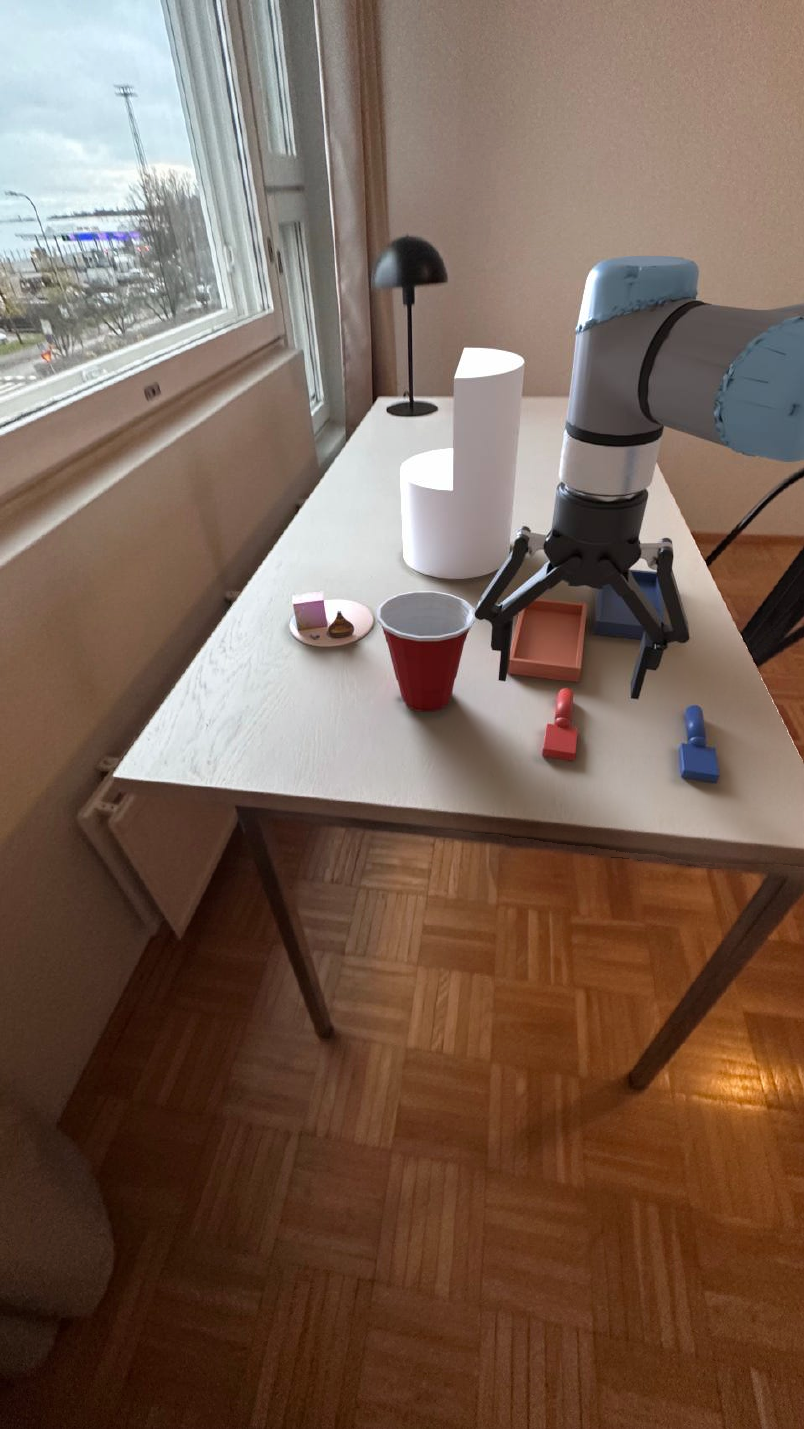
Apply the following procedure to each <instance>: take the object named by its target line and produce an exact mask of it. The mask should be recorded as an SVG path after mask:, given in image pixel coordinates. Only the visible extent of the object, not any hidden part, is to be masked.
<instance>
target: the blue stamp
mask: <svg viewBox="0 0 804 1429" xmlns="http://www.w3.org/2000/svg"><path fill="white" fill-rule="evenodd" d="M684 717H685V727H686V736H687V743H686V742H681V743H680V745H679V747H678V757H679V758H678V760H679V768H680V778H681V779H687V780H694V781H699V782H700V781H701V782H707V783H714V784H716V783H718V780H719V778H720V770H719V764H718V763H719V762H718V757H717V750H716V747H714V746H707V744H708V742H707V741H708V740H707V735H706V734H707V733H706V725H705V718H704V711H703V708H702V707H700V706H699V705H697V704H690V705H688V706H687V707H686V709H685V711H684Z"/></svg>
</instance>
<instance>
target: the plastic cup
mask: <svg viewBox="0 0 804 1429" xmlns="http://www.w3.org/2000/svg"><path fill="white" fill-rule="evenodd" d="M475 611H476V609H475V607H473V606H472V605H471V604H470V603H469V602H468V601H467V600H466V599H463V598H461V597H458V596H456V595H453V594H452V593H446V592H441V591H434V590H414V591H408V592H403V593H398V594H395V595H393V596H391V597H389V598H387V599H385V600H384V601H383V602H382V603H381V604H380V605H379V606H378V607H377V608H376V620H377V622H378V624H379V625H380V626H381V628H382V632H383V634H384V637H385V642H386V643H387V647H388V651H389V656H390V660H391V663H392V667H393V671H394V675H395V679H396V681H397V683H398V688H399V691H400V695H401V698H402V700H403V702H404V703H405V705H406V706H407V707H408V708H410V709H412V710H414V711H418V712H423V713H425V712H427V713H428V712H434V711H438V710H441V709H442V708H444V707H445V706H446V705H448V703H449V701H450V700H451V697H452V695H453V690H454V686H455V682H456V678H457V676H458V673H459V667H460V663H461V658H462V655H463V651H464V645H465V642H466V641H467V637H468V634H469V632H470V630H471V628H472V626H473V625H474V623H475V622H476V619H477V618H476V617H475Z"/></svg>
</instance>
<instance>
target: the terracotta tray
mask: <svg viewBox="0 0 804 1429" xmlns="http://www.w3.org/2000/svg"><path fill="white" fill-rule="evenodd" d="M587 610H588V603H584V602H583V603H582V602H573V601H564V600H553V599H545V598H537V599H535V600H534V601H533V602H532V603H530V604H529V605H528V606H527V607H525V608H524V609H523V610H522V611H521V612H519V613H518V617H517V621H516V626H515V631H514V633H513V638H512V641H511V650H510V660H509V668H508V672H507V674H510V675H518V676H523V677H524V676H525V677H533V678H541V679H549V680H555V681H556V680H557V681H564V682H572V683H579V682H580V677H581V671H582V664H583V653H584V642H585V630H586V622H587V621H586V620H587Z"/></svg>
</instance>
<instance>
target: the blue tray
mask: <svg viewBox="0 0 804 1429" xmlns="http://www.w3.org/2000/svg"><path fill="white" fill-rule="evenodd" d="M629 570H630V571H631V573H632V575H633V578H634V579H635V581H636V582H637V584H638V585H639V587H640V588H641V590H642V591H643V592H644V594H645V595H646V597H647V598H648V600H649V601H650V603H651V604H652V606H653V607H654V608H655V610H656V611H657V613H658V614H659V616H660V617H661V619H662V620H663V621H664V623H665V624H666V617H665V616H666V615H665V614H666V613H665V603H664V600H663V597H662V593H661V590H660V587H659V584H658V579H657V571H654V570H653V571H651V570H641V569H631V568H630V569H629ZM593 620H594V622H593V635H597V636H606V637H615V638H624V639H631V640H632V639H633V640H641V641H642V638H643V634H644V631H645V630H644V628H643V627H642V626H641V624H640V623H639V621H638V620H637V619H636V617H635V616H634V614H633V613H632V612H631V610H630V609H629V607H628V606H627V604H626V603H625V602H624V600H623V599H622V598H621V597H619V596H618V595H617V593H616V592H615V590H614V589H613V588H612V586H611V585H608V586H605V587H603V588H602V589H596V596H595V608H594V619H593Z"/></svg>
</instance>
